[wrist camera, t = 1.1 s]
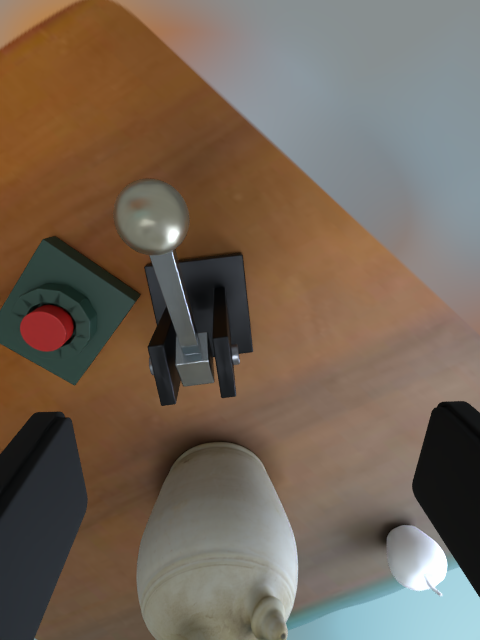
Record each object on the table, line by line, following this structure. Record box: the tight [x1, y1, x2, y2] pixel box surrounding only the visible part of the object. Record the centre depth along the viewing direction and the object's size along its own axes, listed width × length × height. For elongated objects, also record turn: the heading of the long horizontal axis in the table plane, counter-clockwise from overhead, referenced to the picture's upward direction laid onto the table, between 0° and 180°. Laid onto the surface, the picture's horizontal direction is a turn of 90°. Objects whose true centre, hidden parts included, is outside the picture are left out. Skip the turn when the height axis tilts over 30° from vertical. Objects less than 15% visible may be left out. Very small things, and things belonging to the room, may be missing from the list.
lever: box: [113, 178, 214, 386], centre depth 19 cm, size 14×3×3 cm, turn 6°
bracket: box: [144, 253, 253, 406], centre depth 27 cm, size 10×9×13 cm
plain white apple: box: [387, 525, 447, 596], centre depth 43 cm, size 7×7×8 cm
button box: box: [0, 236, 140, 385], centre depth 30 cm, size 11×9×4 cm
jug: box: [137, 442, 298, 640], centre depth 30 cm, size 15×16×25 cm
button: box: [20, 305, 74, 351], centre depth 28 cm, size 4×4×2 cm
